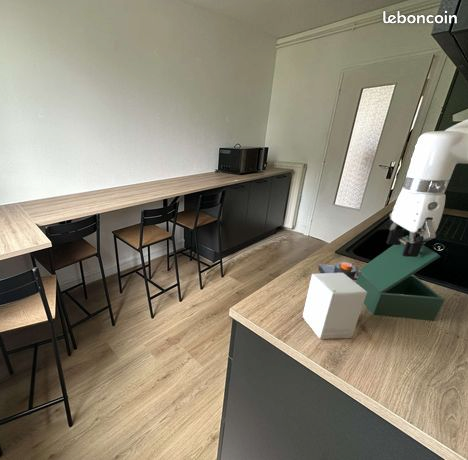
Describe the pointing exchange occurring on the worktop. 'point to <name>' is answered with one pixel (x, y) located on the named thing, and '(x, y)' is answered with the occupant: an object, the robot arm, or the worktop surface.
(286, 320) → the worktop surface
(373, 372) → the worktop surface
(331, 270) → the control block
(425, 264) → the green box lid
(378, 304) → the green lidded box
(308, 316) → the white product box
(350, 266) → the button
